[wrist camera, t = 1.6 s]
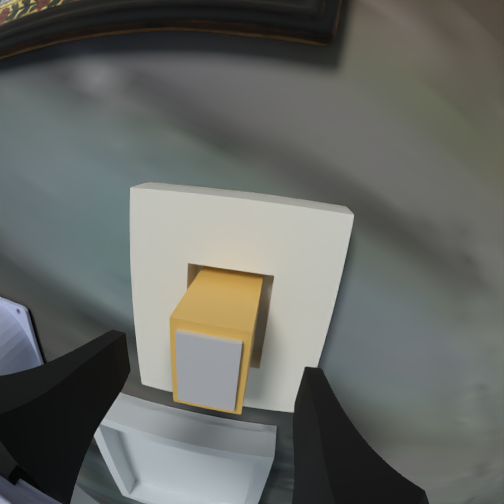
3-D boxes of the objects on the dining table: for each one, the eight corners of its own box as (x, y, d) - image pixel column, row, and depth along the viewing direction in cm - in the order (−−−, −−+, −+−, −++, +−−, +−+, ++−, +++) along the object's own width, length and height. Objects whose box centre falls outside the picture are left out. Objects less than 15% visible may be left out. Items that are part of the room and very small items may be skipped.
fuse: (202, 334, 17) (171, 404, 12) (205, 262, 16) (166, 320, 10) (254, 342, 17) (240, 418, 12) (264, 270, 16) (252, 335, 10)
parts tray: (131, 476, 26) (122, 495, 24) (100, 385, 21) (83, 410, 18) (252, 504, 25) (249, 525, 23) (276, 426, 20) (274, 457, 17)
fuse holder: (152, 365, 19) (142, 384, 17) (148, 182, 15) (130, 187, 13) (301, 391, 19) (302, 413, 17) (345, 206, 15) (354, 215, 13)
